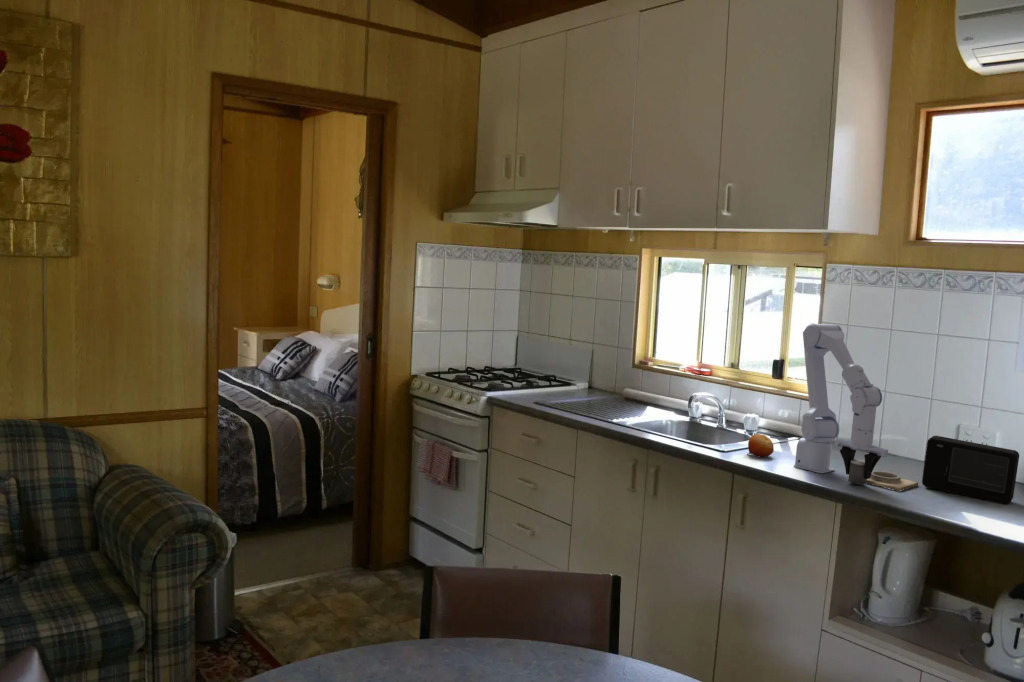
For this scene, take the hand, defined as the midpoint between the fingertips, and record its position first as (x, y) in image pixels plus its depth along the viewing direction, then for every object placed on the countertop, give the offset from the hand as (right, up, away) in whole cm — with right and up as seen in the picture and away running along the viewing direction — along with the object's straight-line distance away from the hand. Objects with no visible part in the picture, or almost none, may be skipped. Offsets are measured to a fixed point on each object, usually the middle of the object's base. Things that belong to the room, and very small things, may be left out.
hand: (857, 476), depth 240 cm
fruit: (-19, +1, +30) cm, 35 cm away
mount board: (+9, -3, +4) cm, 11 cm away
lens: (0, -2, 0) cm, 2 cm away
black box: (+30, -5, -3) cm, 30 cm away
